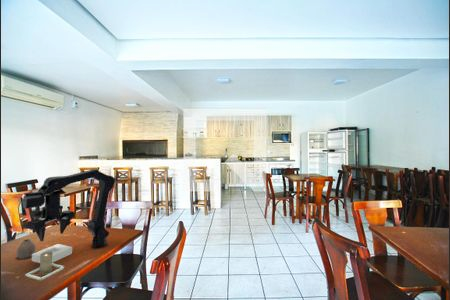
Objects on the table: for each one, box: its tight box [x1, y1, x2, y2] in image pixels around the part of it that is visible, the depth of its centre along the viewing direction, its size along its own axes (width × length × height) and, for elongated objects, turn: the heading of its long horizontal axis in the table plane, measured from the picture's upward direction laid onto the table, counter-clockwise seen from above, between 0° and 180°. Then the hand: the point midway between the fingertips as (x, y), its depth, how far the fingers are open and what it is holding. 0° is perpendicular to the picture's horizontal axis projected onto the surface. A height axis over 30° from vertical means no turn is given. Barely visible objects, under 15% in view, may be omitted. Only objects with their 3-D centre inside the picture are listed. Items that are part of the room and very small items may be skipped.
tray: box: [24, 262, 66, 282], centre depth 96 cm, size 10×9×2 cm
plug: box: [39, 252, 53, 275], centre depth 96 cm, size 4×4×8 cm
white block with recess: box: [31, 243, 73, 264], centre depth 108 cm, size 12×10×4 cm
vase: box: [16, 238, 37, 260], centre depth 108 cm, size 7×7×9 cm
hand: (52, 237), depth 104 cm, fingers open, 9 cm apart
